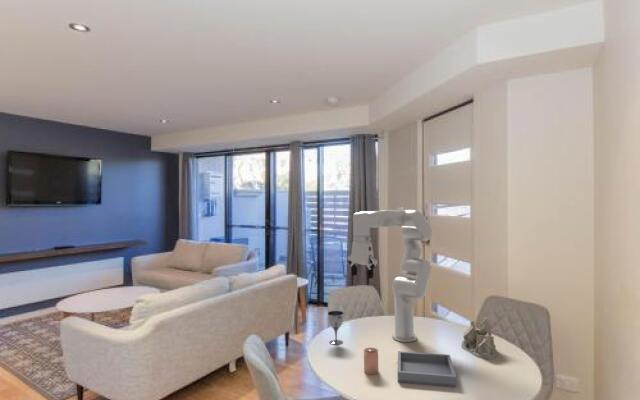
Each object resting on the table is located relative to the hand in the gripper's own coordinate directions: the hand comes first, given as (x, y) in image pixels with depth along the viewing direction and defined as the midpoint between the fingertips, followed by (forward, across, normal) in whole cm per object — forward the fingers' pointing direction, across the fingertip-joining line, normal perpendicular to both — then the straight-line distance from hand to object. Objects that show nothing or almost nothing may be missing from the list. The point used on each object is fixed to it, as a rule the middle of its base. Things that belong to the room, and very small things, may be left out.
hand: (362, 276), depth 167 cm
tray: (+37, -27, -7) cm, 47 cm away
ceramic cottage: (+37, -33, -44) cm, 67 cm away
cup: (+37, -11, +8) cm, 40 cm away
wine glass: (+37, +21, -4) cm, 43 cm away
